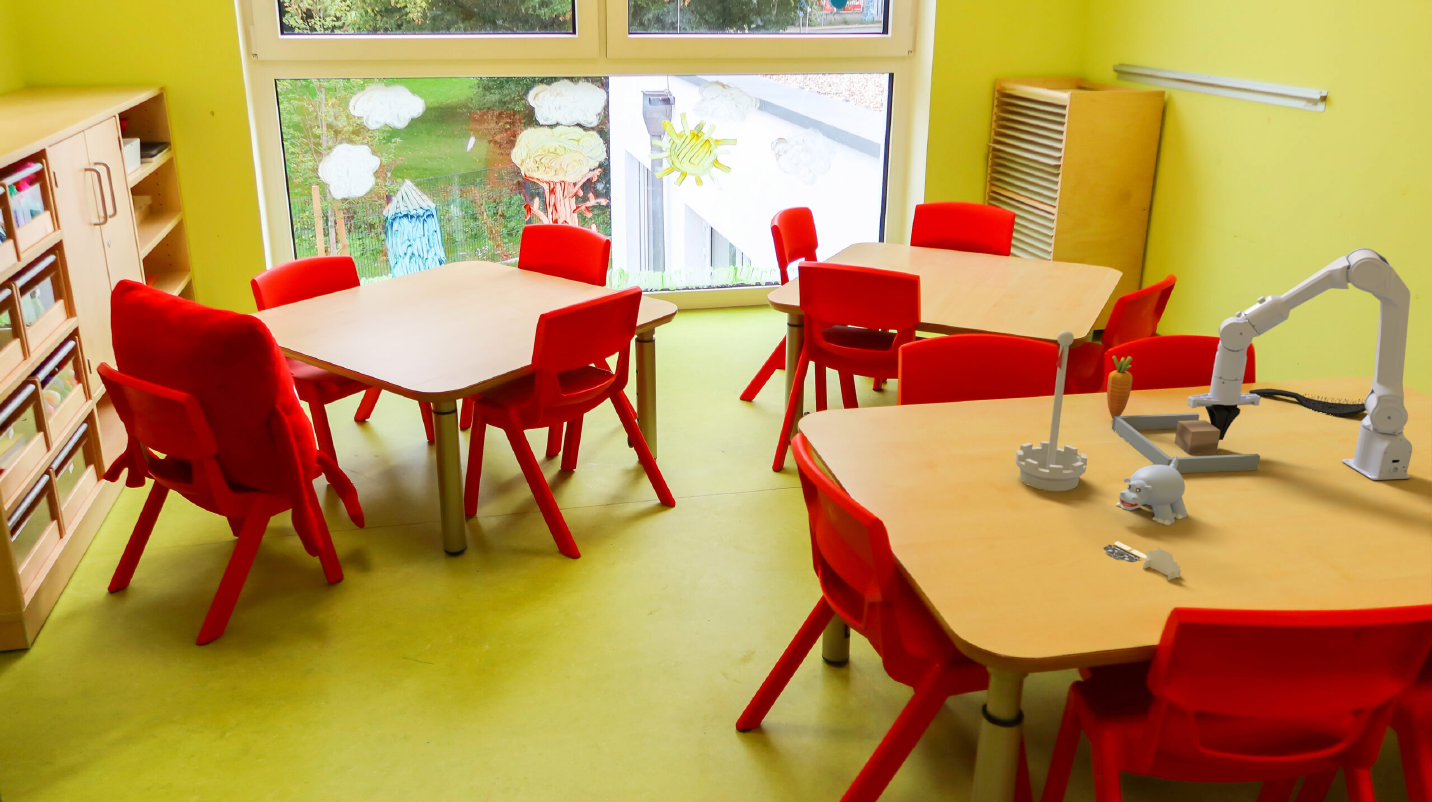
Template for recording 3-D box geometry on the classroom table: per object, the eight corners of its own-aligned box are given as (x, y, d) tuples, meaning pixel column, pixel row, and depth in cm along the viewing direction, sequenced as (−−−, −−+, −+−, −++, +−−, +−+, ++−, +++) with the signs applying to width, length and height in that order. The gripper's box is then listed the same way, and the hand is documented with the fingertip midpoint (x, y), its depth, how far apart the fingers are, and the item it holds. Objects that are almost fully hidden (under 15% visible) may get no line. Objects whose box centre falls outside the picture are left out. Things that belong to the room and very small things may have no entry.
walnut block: (1216, 453, 226) (1220, 430, 224) (1188, 454, 226) (1192, 431, 224) (1201, 442, 232) (1205, 420, 230) (1174, 443, 231) (1178, 420, 229)
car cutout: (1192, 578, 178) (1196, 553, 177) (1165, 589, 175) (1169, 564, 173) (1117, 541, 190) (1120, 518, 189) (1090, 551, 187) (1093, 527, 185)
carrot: (1098, 418, 245) (1106, 354, 239) (1115, 415, 247) (1123, 351, 241) (1114, 425, 240) (1123, 360, 235) (1131, 422, 242) (1140, 357, 237)
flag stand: (1025, 461, 222) (1040, 317, 212) (1091, 474, 216) (1110, 327, 205) (1005, 484, 211) (1020, 334, 201) (1074, 499, 205) (1093, 345, 195)
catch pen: (1257, 469, 218) (1260, 455, 217) (1166, 473, 216) (1168, 459, 215) (1195, 425, 240) (1197, 413, 239) (1111, 429, 238) (1113, 416, 237)
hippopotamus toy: (1096, 513, 200) (1103, 465, 196) (1144, 492, 208) (1151, 446, 205) (1149, 535, 192) (1157, 485, 188) (1197, 512, 200) (1205, 464, 197)
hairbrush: (1256, 378, 264) (1374, 397, 248) (1254, 393, 265) (1371, 412, 249) (1245, 387, 258) (1365, 406, 242) (1243, 402, 259) (1362, 422, 243)
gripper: (1250, 368, 228) (1239, 429, 233) (1184, 371, 227) (1174, 432, 231) (1270, 379, 222) (1258, 442, 226) (1202, 382, 220) (1191, 445, 225)
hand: (1217, 438), depth 228 cm, fingers closed
